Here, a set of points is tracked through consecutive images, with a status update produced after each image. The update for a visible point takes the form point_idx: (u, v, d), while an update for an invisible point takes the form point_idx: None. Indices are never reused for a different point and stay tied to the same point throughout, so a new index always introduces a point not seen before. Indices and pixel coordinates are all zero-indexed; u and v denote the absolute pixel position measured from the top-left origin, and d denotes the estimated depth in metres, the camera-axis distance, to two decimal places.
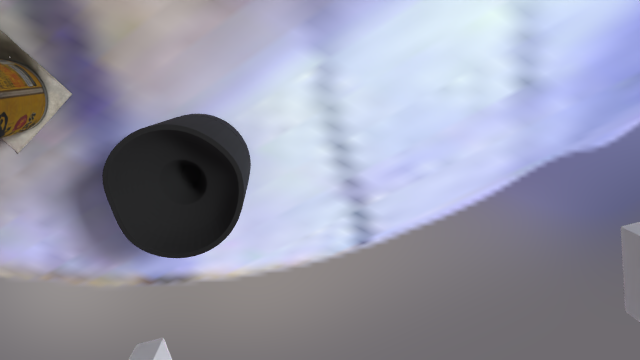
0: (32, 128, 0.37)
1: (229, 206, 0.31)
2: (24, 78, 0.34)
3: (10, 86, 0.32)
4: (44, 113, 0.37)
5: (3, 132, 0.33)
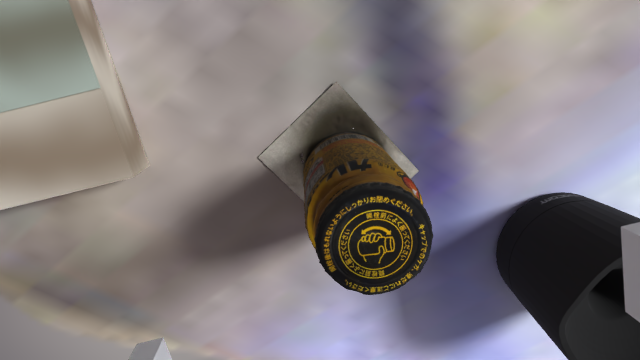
0: None
1: None
2: None
3: None
4: None
5: None
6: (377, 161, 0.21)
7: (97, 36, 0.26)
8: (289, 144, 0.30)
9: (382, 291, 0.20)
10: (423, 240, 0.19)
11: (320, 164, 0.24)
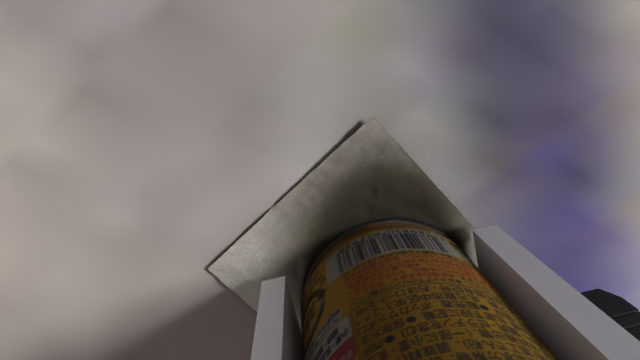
0: None
1: None
2: None
3: None
4: None
5: None
6: None
7: None
8: (272, 244, 0.14)
9: None
10: None
11: (347, 356, 0.09)
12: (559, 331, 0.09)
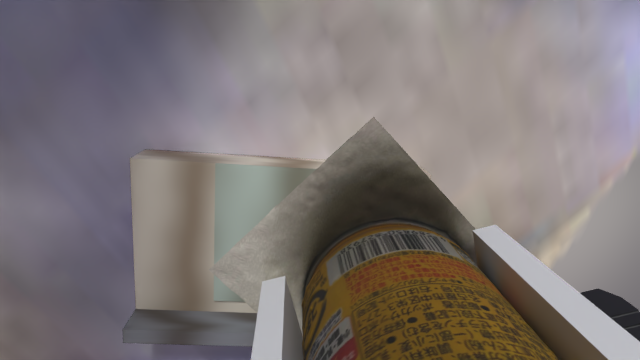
0: None
1: None
2: None
3: None
4: None
5: None
6: None
7: (306, 161, 0.31)
8: (273, 244, 0.14)
9: None
10: None
11: (349, 357, 0.09)
12: (559, 331, 0.09)
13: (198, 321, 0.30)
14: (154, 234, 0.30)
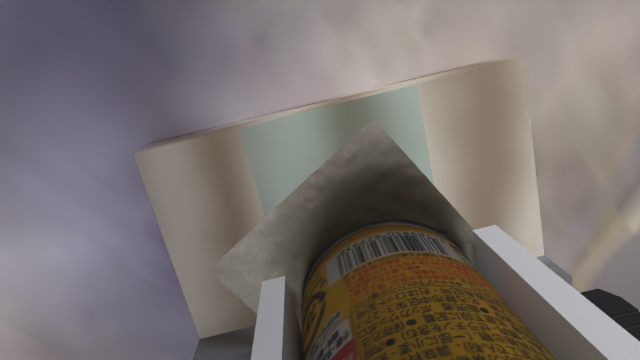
0: None
1: None
2: None
3: None
4: None
5: None
6: None
7: (352, 95, 0.24)
8: (273, 245, 0.14)
9: None
10: None
11: (348, 359, 0.09)
12: (559, 331, 0.09)
13: None
14: (192, 241, 0.23)
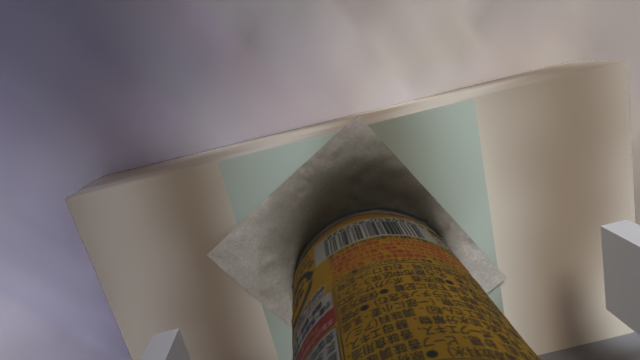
0: None
1: None
2: None
3: None
4: None
5: None
6: None
7: (376, 112, 0.17)
8: (266, 232, 0.16)
9: None
10: None
11: (328, 324, 0.10)
12: None
13: None
14: (154, 316, 0.17)
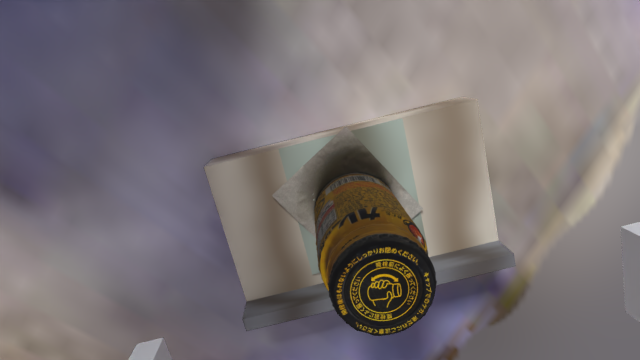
0: None
1: None
2: (396, 199, 0.30)
3: None
4: None
5: None
6: (385, 210, 0.23)
7: (357, 124, 0.33)
8: (301, 184, 0.31)
9: (390, 332, 0.21)
10: (427, 287, 0.21)
11: (331, 208, 0.26)
12: None
13: (305, 295, 0.33)
14: (243, 228, 0.32)
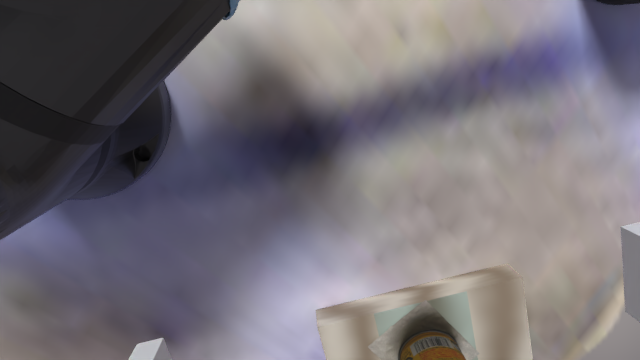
0: None
1: None
2: (463, 355, 0.40)
3: None
4: None
5: None
6: None
7: (428, 287, 0.44)
8: (390, 338, 0.42)
9: None
10: None
11: None
12: None
13: None
14: None
